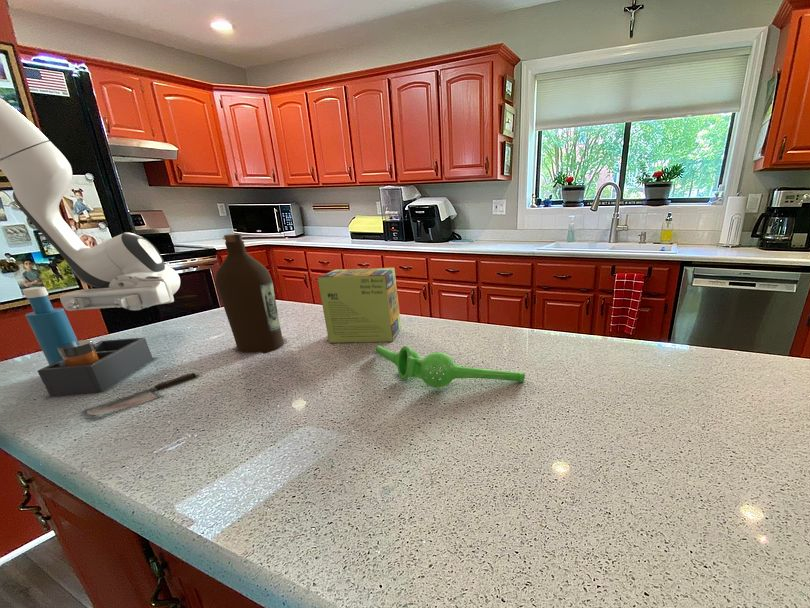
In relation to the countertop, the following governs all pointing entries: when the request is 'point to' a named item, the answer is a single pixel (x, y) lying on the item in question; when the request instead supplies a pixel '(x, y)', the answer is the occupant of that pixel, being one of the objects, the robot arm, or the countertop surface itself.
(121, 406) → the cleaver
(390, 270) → the protein box
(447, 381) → the lime squeezer
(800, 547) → the countertop surface
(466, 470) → the countertop surface
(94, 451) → the countertop surface
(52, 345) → the water bottle
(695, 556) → the countertop surface
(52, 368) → the cup holder
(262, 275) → the olive oil
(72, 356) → the spice jar
